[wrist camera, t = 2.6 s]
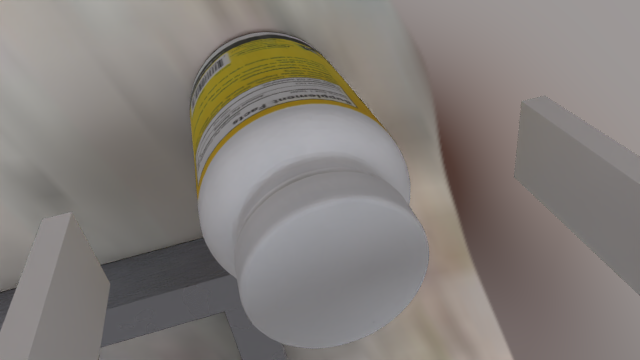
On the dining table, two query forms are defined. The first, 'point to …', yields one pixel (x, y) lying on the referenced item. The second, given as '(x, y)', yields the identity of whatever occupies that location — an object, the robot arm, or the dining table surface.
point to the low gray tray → (174, 298)
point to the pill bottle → (302, 194)
